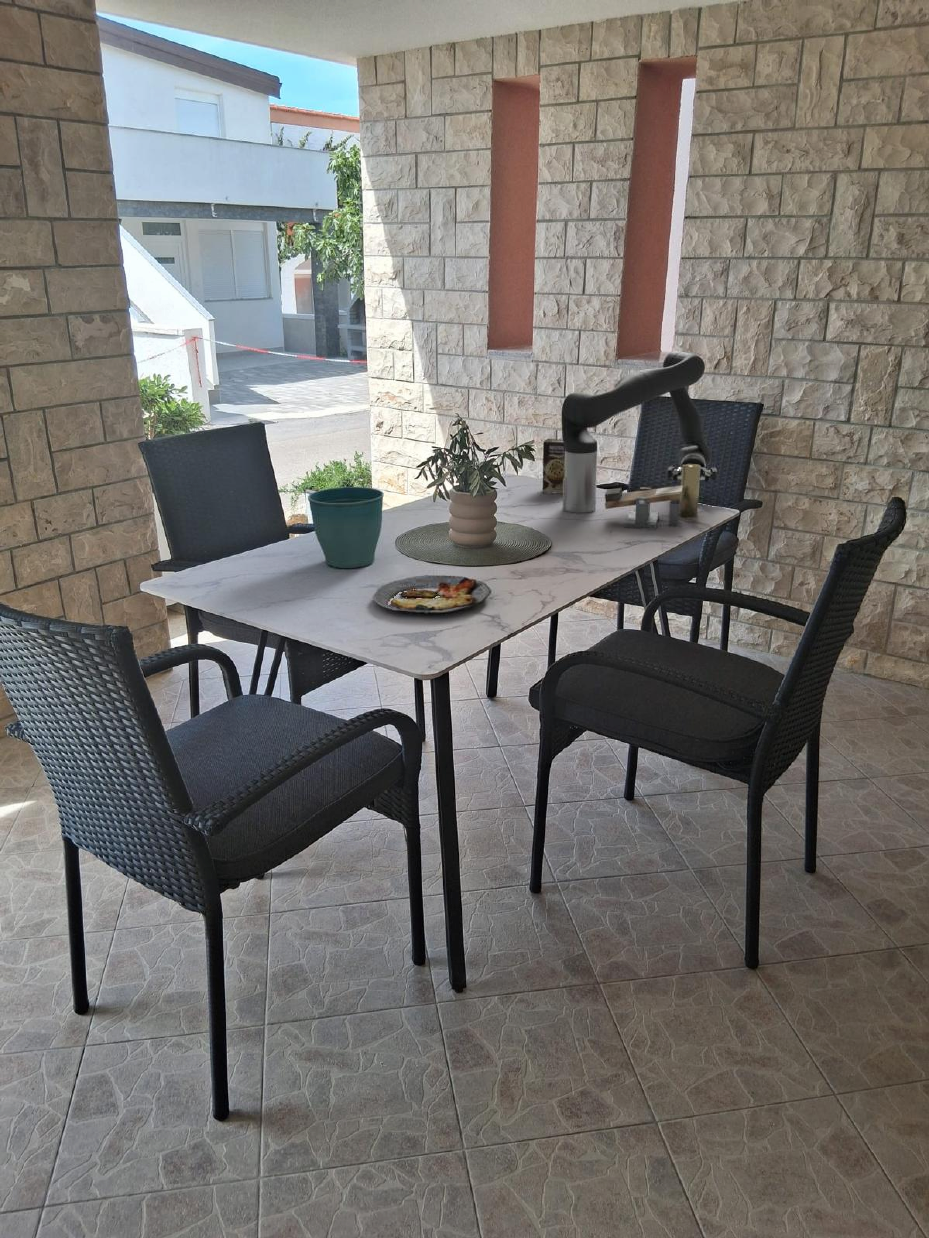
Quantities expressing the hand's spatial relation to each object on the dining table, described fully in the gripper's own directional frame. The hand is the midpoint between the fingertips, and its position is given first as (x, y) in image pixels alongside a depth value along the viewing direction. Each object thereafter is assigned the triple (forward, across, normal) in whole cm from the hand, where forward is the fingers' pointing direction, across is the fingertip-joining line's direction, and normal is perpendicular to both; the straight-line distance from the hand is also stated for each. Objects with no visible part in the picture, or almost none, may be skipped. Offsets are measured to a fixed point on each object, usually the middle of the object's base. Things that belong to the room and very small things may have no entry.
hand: (691, 478), depth 272 cm
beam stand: (+22, -9, +8) cm, 25 cm away
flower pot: (+71, -79, +8) cm, 107 cm away
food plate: (+94, -51, +9) cm, 108 cm away
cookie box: (-12, -41, +8) cm, 43 cm away
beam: (+22, -12, +1) cm, 25 cm away
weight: (+12, 0, +8) cm, 14 cm away
